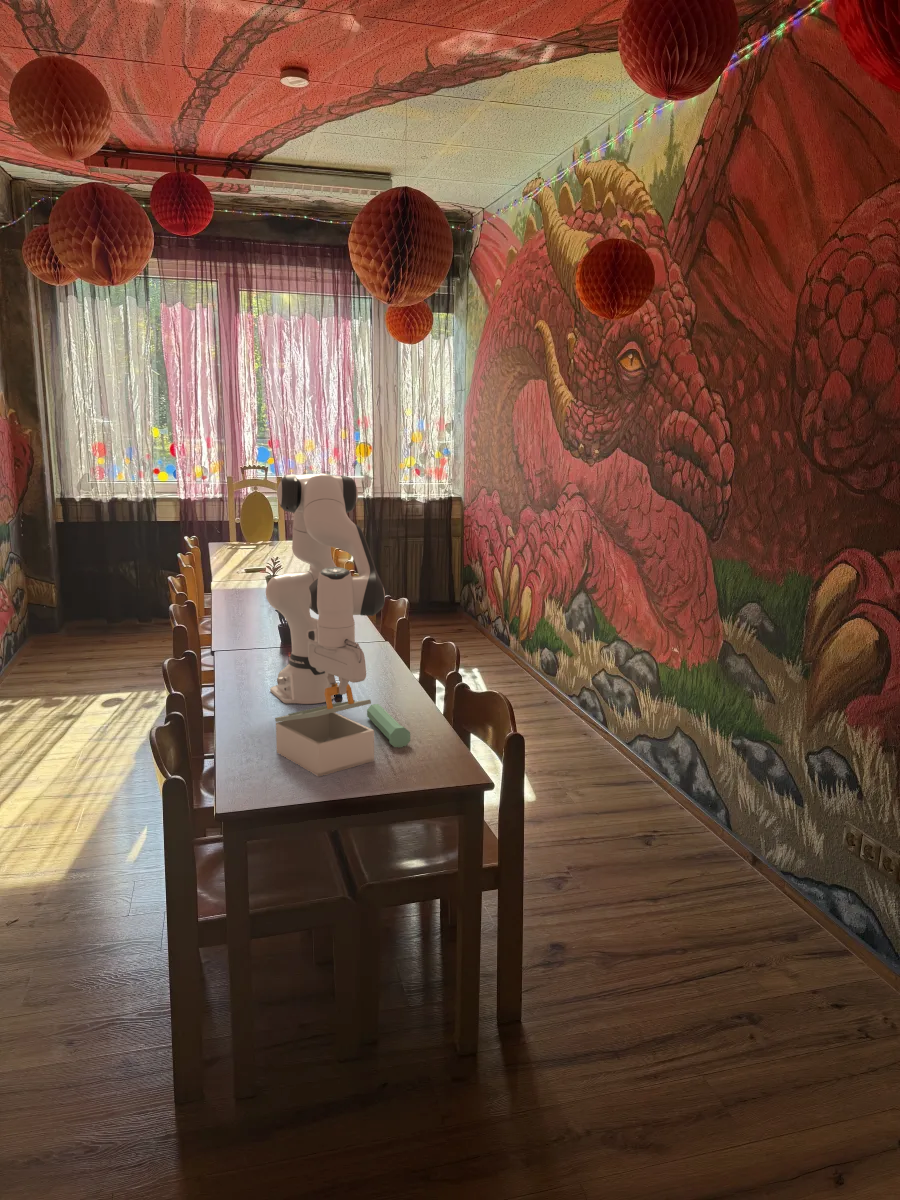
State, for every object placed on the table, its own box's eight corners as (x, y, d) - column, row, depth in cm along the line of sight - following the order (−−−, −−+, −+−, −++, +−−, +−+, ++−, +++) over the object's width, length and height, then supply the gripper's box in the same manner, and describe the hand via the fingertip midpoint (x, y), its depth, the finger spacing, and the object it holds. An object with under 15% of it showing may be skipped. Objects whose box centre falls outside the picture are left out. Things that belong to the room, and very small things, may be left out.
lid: (275, 721, 217) (271, 698, 217) (329, 709, 227) (325, 686, 228) (315, 716, 202) (310, 691, 202) (371, 703, 212) (366, 679, 212)
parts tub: (276, 752, 219) (275, 722, 217) (330, 738, 229) (329, 709, 227) (318, 776, 204) (318, 744, 202) (374, 760, 214) (374, 730, 212)
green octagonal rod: (367, 698, 245) (394, 724, 222) (386, 703, 247) (414, 730, 224) (360, 717, 245) (386, 745, 222) (379, 722, 247) (406, 751, 224)
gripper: (372, 642, 200) (372, 699, 202) (324, 627, 215) (325, 680, 218) (349, 646, 196) (350, 704, 198) (302, 630, 211) (304, 684, 214)
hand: (337, 691), depth 208 cm, fingers open, 2 cm apart
